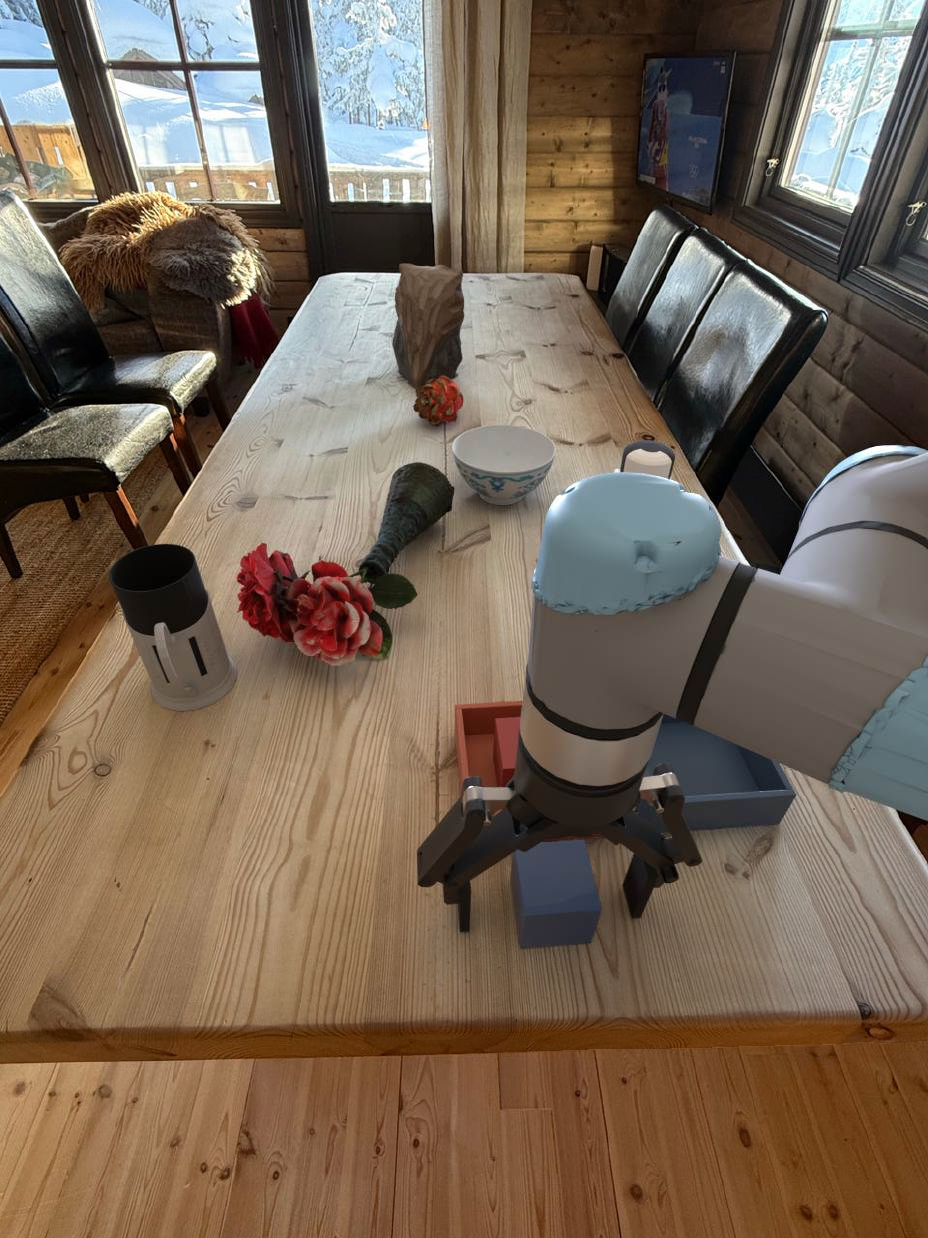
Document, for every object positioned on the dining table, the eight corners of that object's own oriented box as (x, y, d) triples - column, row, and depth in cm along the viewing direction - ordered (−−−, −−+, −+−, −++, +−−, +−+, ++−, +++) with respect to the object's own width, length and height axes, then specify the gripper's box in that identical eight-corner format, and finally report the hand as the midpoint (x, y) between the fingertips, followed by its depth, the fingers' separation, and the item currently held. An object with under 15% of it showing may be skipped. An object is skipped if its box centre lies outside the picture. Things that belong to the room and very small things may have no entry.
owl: (391, 367, 139) (385, 262, 126) (446, 359, 143) (445, 257, 130) (412, 389, 130) (408, 279, 117) (470, 380, 134) (472, 272, 121)
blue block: (591, 943, 50) (602, 909, 46) (519, 949, 50) (525, 916, 46) (576, 874, 54) (584, 839, 50) (509, 880, 54) (513, 844, 50)
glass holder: (233, 644, 74) (199, 532, 65) (247, 737, 64) (210, 622, 55) (150, 662, 72) (103, 549, 62) (152, 762, 62) (95, 647, 52)
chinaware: (471, 527, 93) (472, 479, 88) (440, 478, 104) (439, 431, 99) (567, 510, 97) (573, 462, 92) (527, 464, 107) (531, 418, 102)
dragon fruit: (425, 443, 116) (442, 425, 126) (465, 419, 112) (479, 401, 122) (398, 401, 113) (417, 385, 123) (437, 374, 109) (454, 360, 119)
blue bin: (779, 824, 58) (797, 795, 55) (643, 834, 57) (654, 805, 54) (726, 718, 67) (738, 687, 64) (608, 725, 66) (615, 694, 63)
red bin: (606, 837, 57) (614, 807, 54) (465, 847, 56) (466, 818, 53) (576, 727, 66) (582, 696, 63) (454, 734, 65) (454, 704, 62)
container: (605, 515, 96) (620, 431, 87) (660, 521, 95) (680, 437, 86) (603, 545, 90) (619, 458, 82) (661, 552, 89) (683, 464, 80)
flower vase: (414, 563, 99) (323, 731, 72) (319, 478, 94) (182, 624, 67) (484, 501, 90) (410, 666, 63) (383, 403, 85) (255, 538, 58)
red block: (561, 802, 59) (568, 765, 55) (500, 806, 58) (503, 769, 55) (550, 752, 63) (555, 714, 59) (492, 756, 62) (495, 718, 59)
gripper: (764, 677, 41) (685, 852, 55) (368, 699, 40) (389, 874, 54) (823, 776, 36) (718, 944, 50) (364, 807, 34) (389, 972, 48)
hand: (548, 908), depth 52 cm, fingers open, 13 cm apart
